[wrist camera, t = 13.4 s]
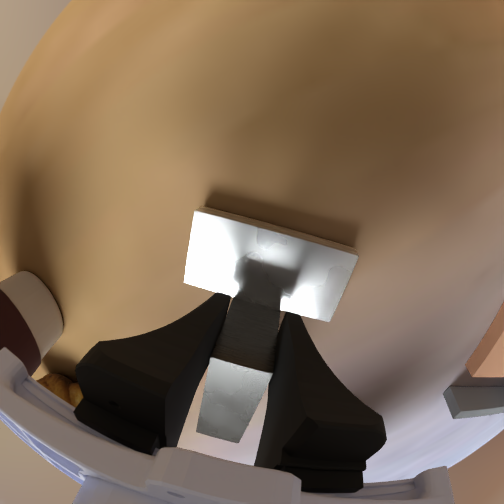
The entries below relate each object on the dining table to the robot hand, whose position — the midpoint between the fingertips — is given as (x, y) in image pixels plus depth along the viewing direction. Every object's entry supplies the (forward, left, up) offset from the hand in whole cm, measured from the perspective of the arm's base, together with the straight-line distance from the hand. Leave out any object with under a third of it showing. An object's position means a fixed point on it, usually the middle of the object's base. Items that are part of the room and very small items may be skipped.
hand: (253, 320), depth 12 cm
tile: (+1, -21, -4) cm, 22 cm away
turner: (-2, 0, -3) cm, 4 cm away
